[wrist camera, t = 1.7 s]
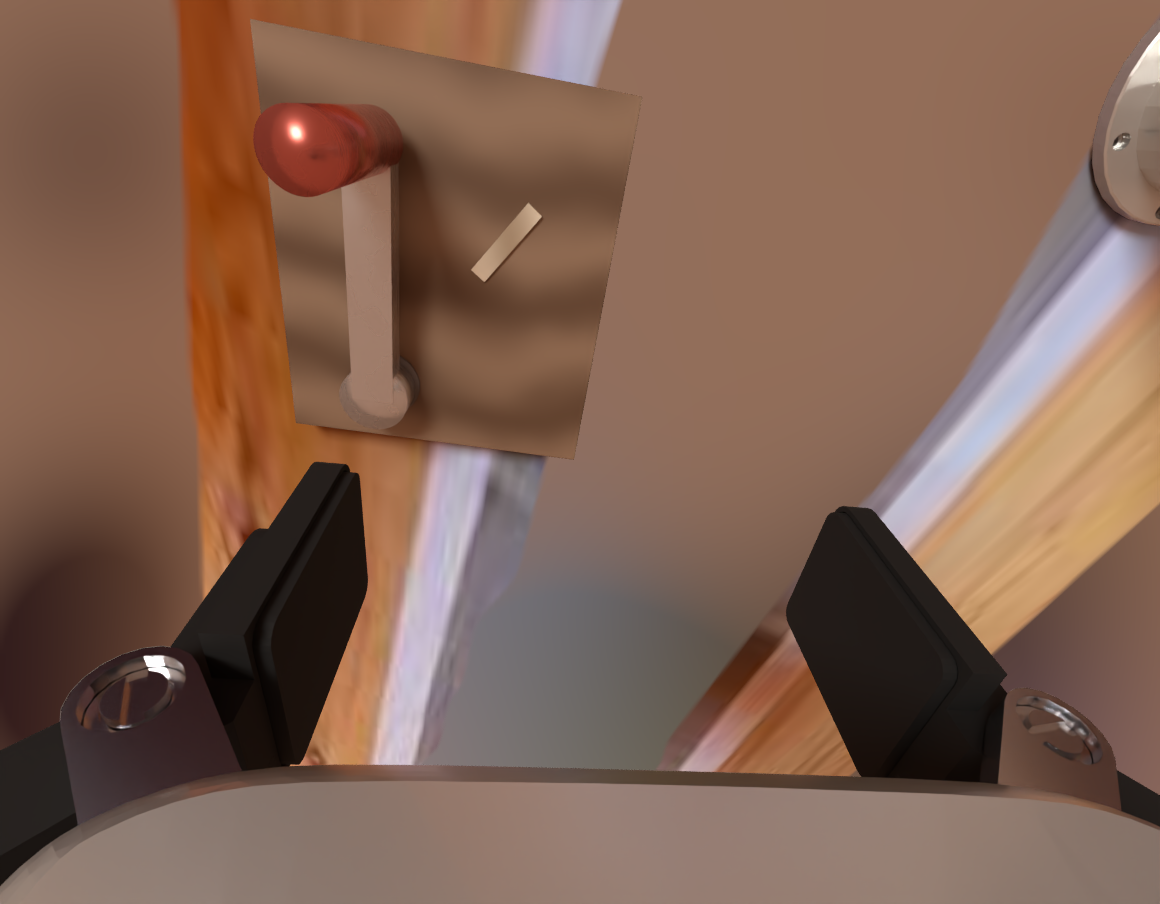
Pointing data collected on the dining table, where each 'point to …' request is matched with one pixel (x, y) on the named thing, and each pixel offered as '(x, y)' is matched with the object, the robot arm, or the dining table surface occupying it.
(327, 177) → the lever
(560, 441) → the lever board
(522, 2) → the dining table surface
